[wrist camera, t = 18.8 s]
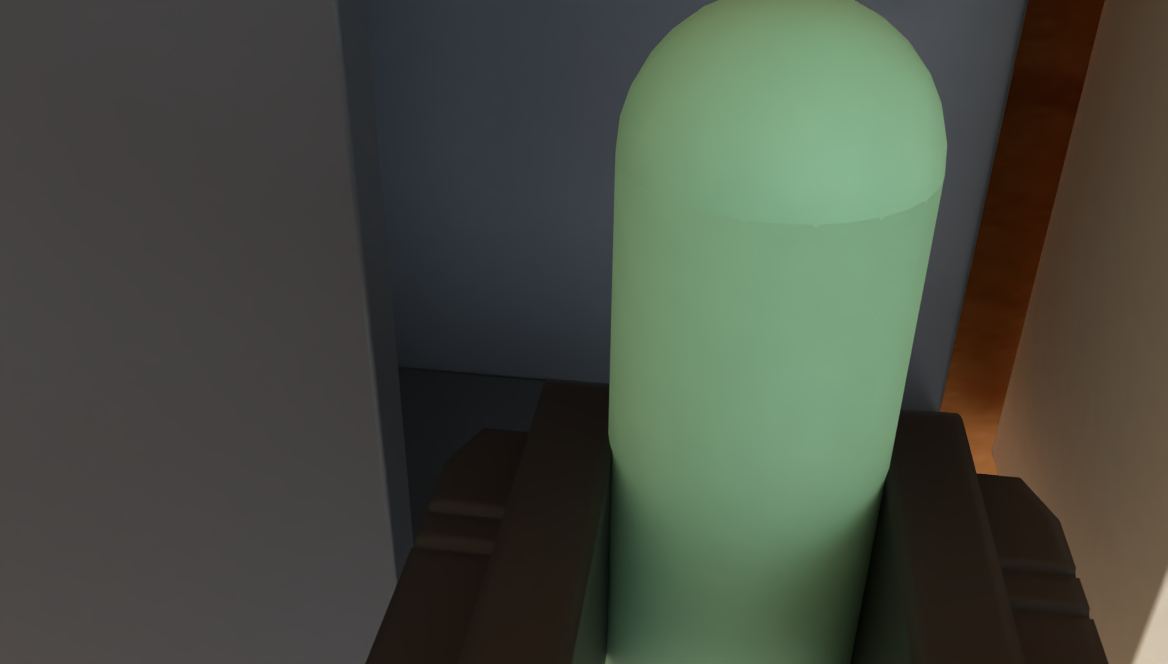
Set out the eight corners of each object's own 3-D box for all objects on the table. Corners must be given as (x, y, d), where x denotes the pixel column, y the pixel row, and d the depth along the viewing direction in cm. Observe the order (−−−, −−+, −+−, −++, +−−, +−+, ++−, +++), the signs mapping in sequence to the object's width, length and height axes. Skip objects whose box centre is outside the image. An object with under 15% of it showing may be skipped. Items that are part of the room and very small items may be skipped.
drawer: (1779, -310, 14) (2631, -289, 7) (1387, 489, 20) (1667, 861, 14) (270, -332, 16) (-55, -332, 10) (352, 393, 22) (190, 676, 16)
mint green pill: (805, 785, 12) (814, 983, 11) (610, 762, 13) (585, 952, 11) (948, -43, 8) (1009, 50, 6) (635, -54, 8) (600, 30, 6)
